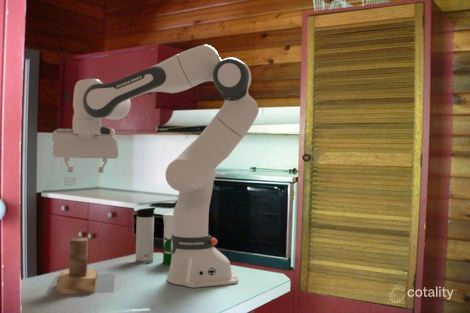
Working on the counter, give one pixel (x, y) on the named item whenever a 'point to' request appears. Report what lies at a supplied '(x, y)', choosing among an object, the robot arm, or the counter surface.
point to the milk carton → (168, 237)
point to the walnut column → (78, 257)
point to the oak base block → (77, 283)
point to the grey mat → (103, 285)
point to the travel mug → (145, 235)
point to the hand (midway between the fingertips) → (85, 172)
